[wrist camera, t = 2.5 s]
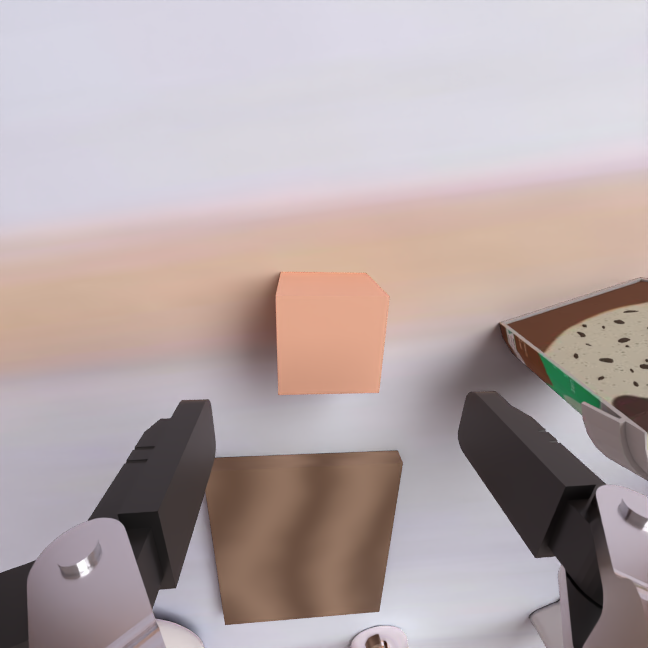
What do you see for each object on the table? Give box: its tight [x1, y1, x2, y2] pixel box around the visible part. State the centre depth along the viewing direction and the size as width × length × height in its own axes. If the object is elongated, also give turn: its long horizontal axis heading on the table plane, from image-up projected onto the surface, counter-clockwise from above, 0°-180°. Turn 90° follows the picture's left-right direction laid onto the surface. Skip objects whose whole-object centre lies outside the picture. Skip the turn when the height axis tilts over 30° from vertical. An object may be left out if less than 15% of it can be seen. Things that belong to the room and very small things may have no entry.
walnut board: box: [205, 451, 403, 625], centre depth 26 cm, size 14×18×1 cm
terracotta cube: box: [276, 272, 390, 395], centre depth 17 cm, size 5×5×5 cm
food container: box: [500, 277, 648, 481], centre depth 17 cm, size 12×6×10 cm, turn 108°
